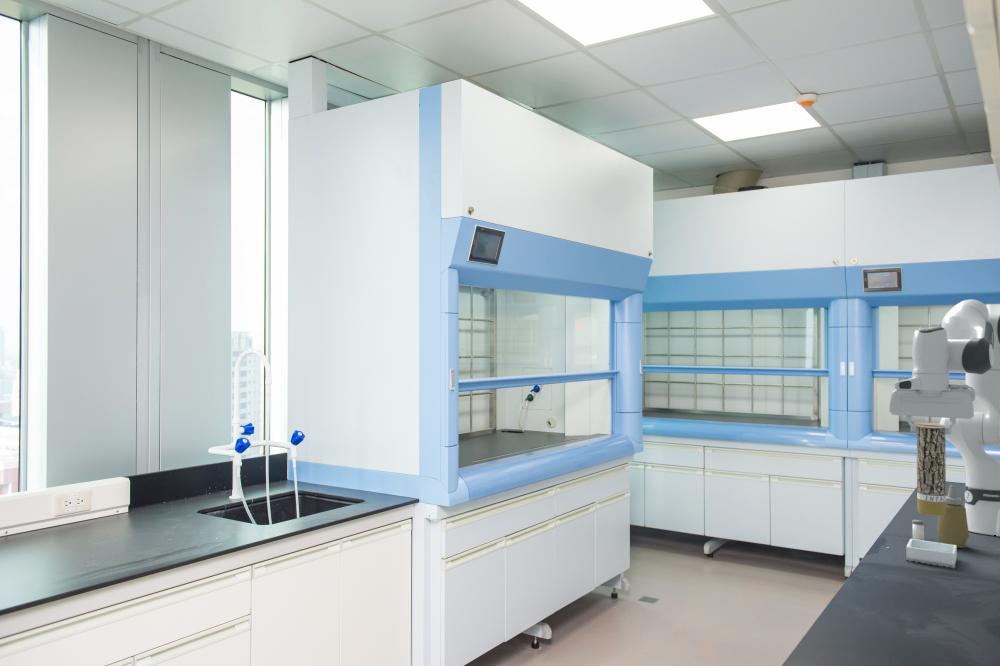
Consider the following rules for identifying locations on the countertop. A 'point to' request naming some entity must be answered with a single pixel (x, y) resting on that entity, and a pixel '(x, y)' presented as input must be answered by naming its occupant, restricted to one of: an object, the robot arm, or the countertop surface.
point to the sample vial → (918, 529)
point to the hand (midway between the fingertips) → (930, 433)
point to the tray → (931, 553)
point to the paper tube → (931, 469)
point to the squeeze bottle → (953, 521)
